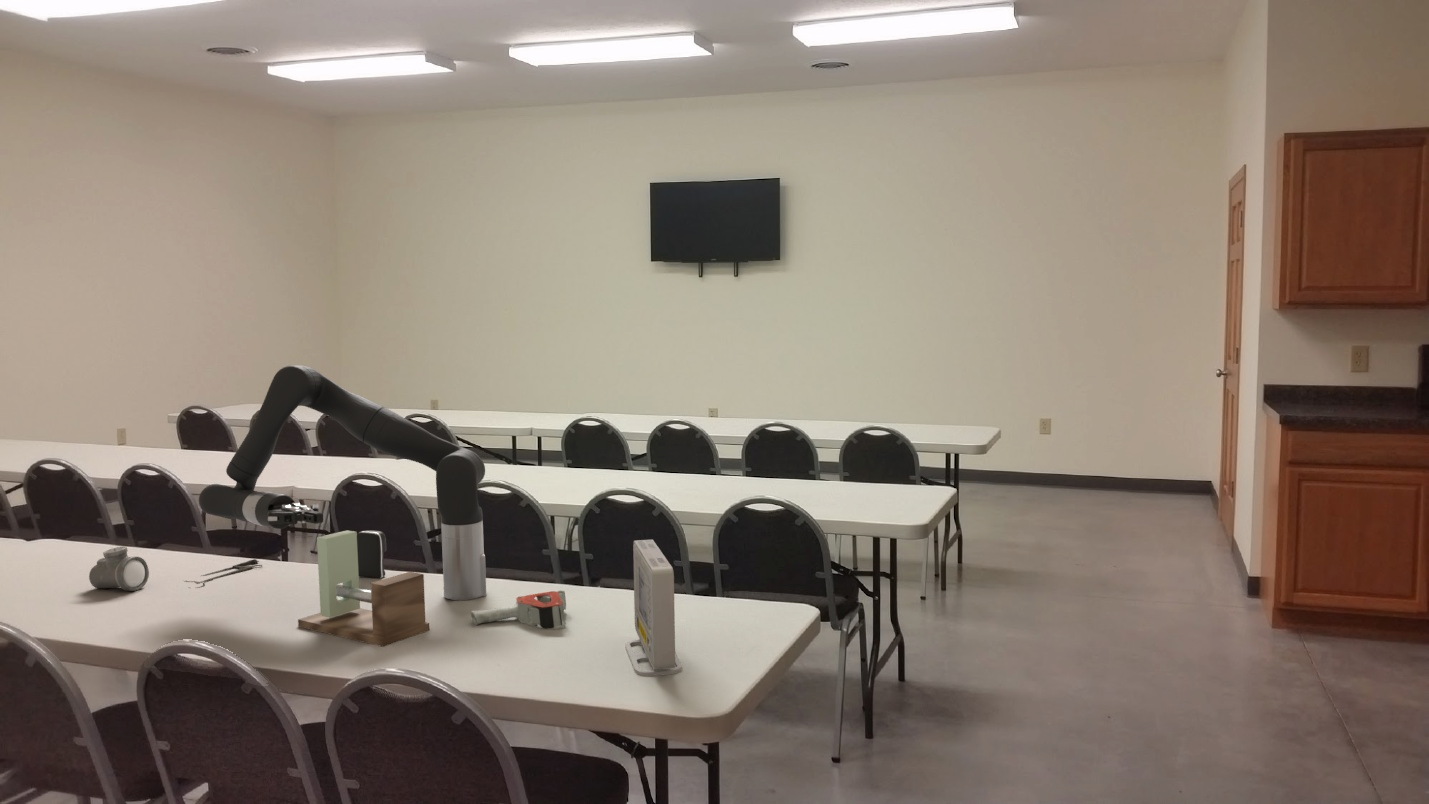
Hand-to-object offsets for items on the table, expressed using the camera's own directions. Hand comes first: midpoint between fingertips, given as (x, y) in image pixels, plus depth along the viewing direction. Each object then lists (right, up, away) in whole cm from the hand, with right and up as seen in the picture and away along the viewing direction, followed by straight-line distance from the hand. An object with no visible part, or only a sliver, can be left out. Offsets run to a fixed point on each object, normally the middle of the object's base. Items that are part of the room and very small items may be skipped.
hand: (320, 518), depth 223 cm
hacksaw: (-39, -19, +41) cm, 59 cm away
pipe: (+10, -17, -5) cm, 20 cm away
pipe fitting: (-59, -20, +29) cm, 69 cm away
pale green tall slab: (+5, -20, -1) cm, 20 cm away
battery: (-1, -19, +37) cm, 42 cm away
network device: (+72, -24, -24) cm, 79 cm away
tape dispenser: (+44, -22, 0) cm, 49 cm away
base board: (+11, -22, -4) cm, 25 cm away
